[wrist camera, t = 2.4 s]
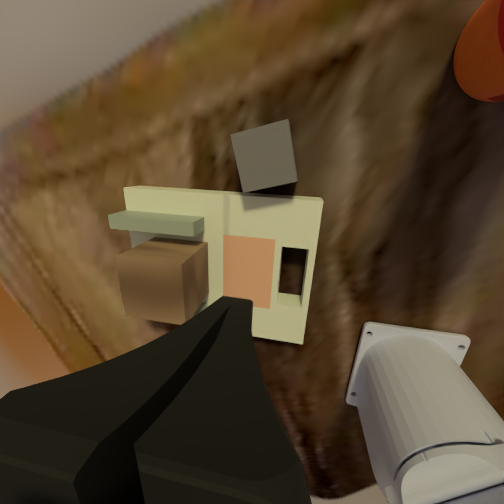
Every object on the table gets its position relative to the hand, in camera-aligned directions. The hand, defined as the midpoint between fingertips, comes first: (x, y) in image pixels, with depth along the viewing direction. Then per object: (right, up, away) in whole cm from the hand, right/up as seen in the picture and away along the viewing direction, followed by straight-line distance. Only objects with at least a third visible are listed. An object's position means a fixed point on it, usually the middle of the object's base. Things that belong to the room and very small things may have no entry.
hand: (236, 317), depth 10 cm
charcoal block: (+2, +10, +8) cm, 12 cm away
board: (-2, +2, +11) cm, 11 cm away
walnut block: (-5, +2, +10) cm, 11 cm away
